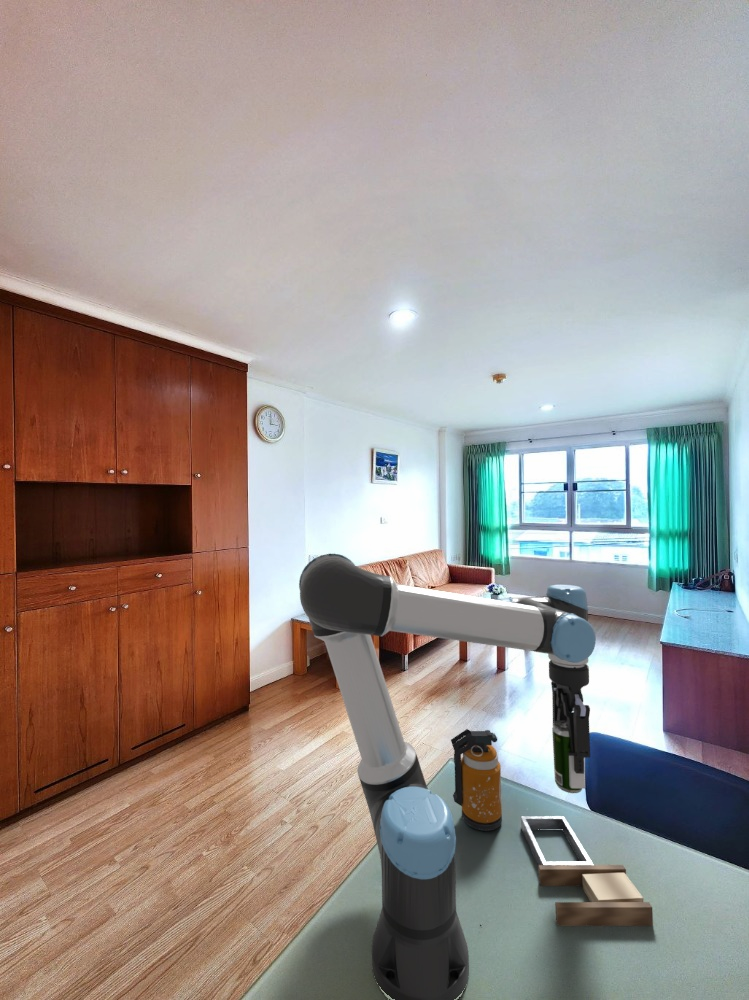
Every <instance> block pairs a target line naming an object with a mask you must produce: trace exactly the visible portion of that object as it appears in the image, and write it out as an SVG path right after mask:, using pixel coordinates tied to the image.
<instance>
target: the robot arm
mask: <svg viewBox="0 0 749 1000" xmlns="http://www.w3.org/2000/svg"><path fill="white" fill-rule="evenodd" d="M298 581H299V583H298V588H299V600H300V605H301V607H302V610H303V611H304V613H305V615H306V617H307V618H308V621H309V624H310V627H311V630H312V634H313V636H314V637H315V638H316V639H319V640H321V641H324V644H325V647H326V651H327V653H328V657H329V660H330V663H331V666H332V669H333V673H334V676H335V678H336V682H337V685H338V688H339V692H340V694H341V697H342V700H343V704H344V707H345V710H346V713H347V716H348V720H349V722H350V726H351V730H352V732H353V736H354V739H355V742H356V744H357V747H358V751H359V755H360V758H361V759H360V761H359V763H358V765H357V771H356V772H357V775H358V778H359V782H360V785H361V788H362V792H363V794H364V798H365V800H366V804H367V805H366V806H367V809H368V812H369V814H370V819H371V822H372V826H373V830H374V836H375V839H376V844H377V848H378V849H377V850H378V853H379V856H380V857H379V858H380V863H381V864H380V865H381V905H382V906H381V909H380V912H379V917H378V919H377V923H376V926H375V929H374V933H373V936H372V941H371V942H372V943H371V966H372V967H371V969H372V968H373V969H372V974H373V973H374V974H373V977H374V976H375V978H374V980H375V979H376V980H375V983H376V982H377V983H378V985H379V986H380V987H381V989H382V990H383V991H384V992H385V993H386V994H387V995H389V996H390V997H391V998H392V999H395V1000H454V999H456V998H457V997H458V996H459V995H460V994H461V993H462V991H463V990H464V988H465V986H466V984H467V985H468V983H467V982H469V977H470V959H469V957H470V956H469V948H468V947H469V946H468V944H467V943H468V942H467V939H466V937H465V933H464V930H463V927H462V924H461V922H460V918H459V915H458V913H457V904H456V903H457V887H456V886H457V885H456V884H457V883H456V882H457V881H456V880H457V879H456V878H457V877H456V875H457V873H456V844H457V836H456V829H455V824H454V819H453V818H454V817H453V815H452V812H451V809H450V807H449V806H448V804H447V802H446V801H445V800H444V799H443V798H442V797H441V796H439V794H437V793H432V791H431V790H430V789H429V788H428V786H427V782H426V779H425V777H424V773H423V770H422V767H421V764H420V761H419V757H418V755H417V751H416V749H415V747H414V746H413V745H412V744H411V743H409V742H406V741H405V740H404V737H403V734H402V730H401V727H400V723H399V721H398V718H397V714H396V712H395V711H396V710H395V709H394V708H395V707H394V705H393V702H392V698H391V695H390V693H389V689H388V685H387V683H386V679H385V676H384V673H383V669H382V667H381V664H380V660H379V657H378V655H377V652H376V651H377V650H376V648H375V645H374V641H373V638H372V636H374V637H376V636H377V637H383V636H385V635H386V634H387V633H389V632H394V633H395V632H396V633H404V634H410V635H417V636H423V637H432V638H438V639H443V640H445V639H446V640H452V641H459V642H465V643H467V642H468V643H473V644H480V645H487V646H495V647H502V648H508V649H515V650H521V651H522V650H523V651H529V652H535V653H541V654H548V655H547V657H548V659H549V660H550V661H548V677H549V680H551V682H550V685H551V692H552V693H551V694H552V695H551V696H552V697H551V698H552V724H553V723H554V722H555V721H557V720H567V721H568V730H569V738H570V747H571V751H567V753H568V755H569V781H570V787H571V788H582V790H584V789H586V767H585V764H586V763H585V758H587V759H588V758H591V742H590V741H591V740H590V739H591V735H590V712H591V708H590V706H589V705H588V704H584V697H583V692H582V688H584V687H587V686H588V685H589V683H590V667H589V665H588V663H589V657H591V655H592V654H593V652H594V650H595V647H596V632H595V630H594V628H593V626H592V624H590V622H589V621H588V619H589V614H588V612H589V608H588V598H587V592H586V590H585V589H584V588H582V586H578V585H571V584H553V585H549V586H548V587H547V590H546V594H545V595H544V596H531V597H530V596H527V597H524V596H523V597H511V596H510V597H505V598H498V599H492V598H485V597H479V596H473V595H467V594H462V593H461V594H460V593H456V592H450V591H444V590H436V589H430V588H425V587H418V586H412V585H407V584H400V583H396V582H395V581H394V579H393V577H392V576H391V575H385V574H379V573H375V572H372V571H369V570H367V569H364V568H362V567H360V566H357V565H356V564H355V563H354V562H353V561H352V560H351V559H350V558H349V557H347V556H345V555H343V554H338V553H328V554H327V553H326V554H321V555H319V556H317V557H315V558H313V559H312V560H311V561H309V562H308V563H307V564H306V565H305V566H304V568H303V570H302V571H301V574H300V576H299V580H298ZM468 976H469V977H468ZM377 983H376V984H377ZM378 985H377V986H378ZM466 987H467V986H466ZM465 989H466V988H465Z"/></svg>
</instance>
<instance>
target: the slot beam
mask: <svg viewBox="0 0 749 1000" xmlns="http://www.w3.org/2000/svg"><path fill="white" fill-rule="evenodd" d="M537 866H538V883H539V885H540V886H541V887H542V886H543V887H567V886H568V887H570V886H571V887H583V879H582V874H600V873H622V872H624V873H625V874H626V875H627V869H626V866H625V865H624V864H593V865H538V864H537ZM554 909H555V910H554V912H555V922H556V924H557V927H561V926H562V927H565V926H567V927H572V926H573V927H574V926H575V927H576V926H578V927H579V926H580V927H581V926H583V927H586V926H587V927H589V926H590V927H596V926H597V927H598V926H600V927H601V926H603V927H609V926H610V927H611V926H615V927H616V926H617V927H618V926H619V927H620V926H622V927H624V926H625V927H628V926H629V927H636V926H637V927H640V926H641V927H643V926H644V927H645V926H647V927H649V926H650V927H651V926H654V920H653V919H654V917H653V906H652V905H651V904H650V902H648V901H644V902H590V901H587V902H586V901H582V902H581V901H575V902H574V901H571V902H570V901H568V902H567V901H566V902H565V901H564V902H563V901H562V902H561V901H560V902H559V901H556V902H554Z"/></svg>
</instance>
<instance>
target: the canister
mask: <svg viewBox="0 0 749 1000" xmlns="http://www.w3.org/2000/svg"><path fill="white" fill-rule="evenodd" d="M450 742H451V744H452V748H453V750H454V751H453V764H454V792H453V793H452V797H453V801H454V803H456V804H458V805H459V806H461V818H462V819H463V821H464V822H465V824H467V825H468V826H469V827H471V828H473V829H476V830H479V831H493V830H496V829H498V828H499V827H500V826H501V825H502V822H503V814H502V813H503V809H502V808H503V807H502V805H503V804H502V775H501V772H502V771H501V769H502V768H501V763H500V761H499V753H498V751H497V750H496V748H495V747H494V746H493V745H492V743H496V742H498V737H497V736H496V733H494V732H491V730H490V729H486V730H470V729H468V728H466V729H465V730H463V731H462V732H460V733H458V734H457V735H455V736H454V737H453V738H451V739H450Z"/></svg>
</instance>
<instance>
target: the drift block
mask: <svg viewBox="0 0 749 1000" xmlns="http://www.w3.org/2000/svg"><path fill="white" fill-rule="evenodd" d="M582 879H583V886H582V890H583V892H584V893H585V895H586V896H587V898H588V900H589V902H645V900H644V896H642V894H641V893H640V892H639V890H638V889H637V887H636V886H635V884H634V883H633V882H632V881H631V880H630V878H629V877H628V875H627V873H626V874H625V873H624V872H622V873H600V874H582Z"/></svg>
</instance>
